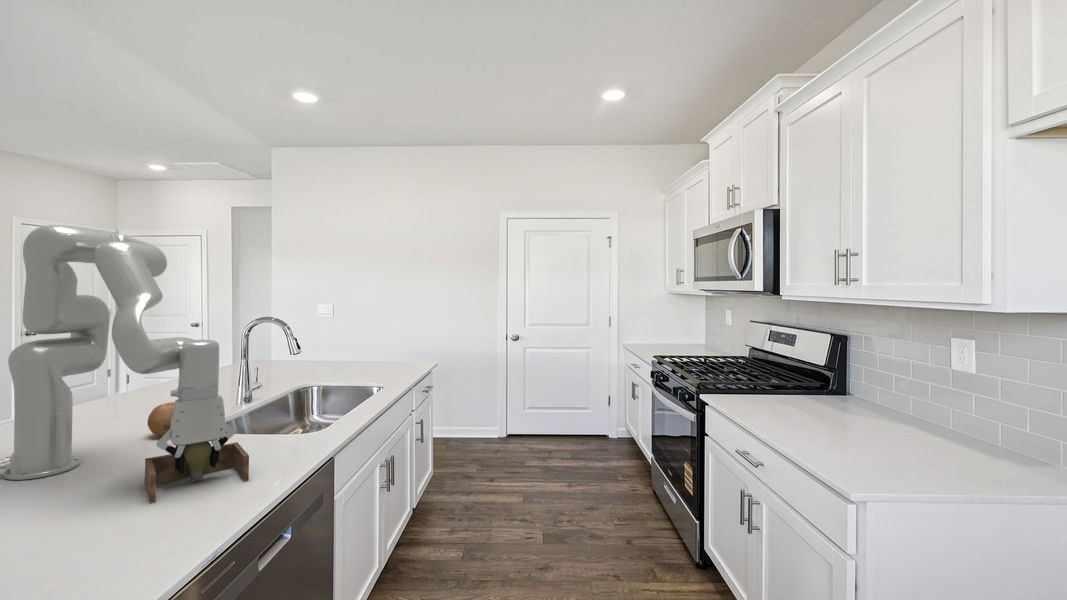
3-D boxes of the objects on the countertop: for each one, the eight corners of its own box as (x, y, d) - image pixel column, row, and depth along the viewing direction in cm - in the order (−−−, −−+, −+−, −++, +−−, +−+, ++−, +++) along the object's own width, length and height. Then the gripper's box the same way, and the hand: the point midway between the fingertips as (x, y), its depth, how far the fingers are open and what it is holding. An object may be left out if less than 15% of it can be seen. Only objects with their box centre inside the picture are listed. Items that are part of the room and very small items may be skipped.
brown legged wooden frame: (149, 503, 94) (150, 475, 94) (144, 484, 103) (145, 458, 103) (248, 480, 107) (249, 455, 107) (236, 465, 116) (237, 442, 116)
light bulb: (195, 487, 102) (196, 444, 102) (175, 484, 104) (176, 441, 103) (217, 477, 108) (217, 436, 108) (198, 474, 109) (198, 434, 109)
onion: (185, 428, 143) (186, 397, 143) (191, 436, 136) (192, 403, 136) (145, 434, 136) (146, 401, 136) (149, 443, 129) (150, 408, 129)
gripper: (152, 401, 97) (151, 484, 97) (245, 390, 109) (243, 465, 109) (149, 394, 102) (147, 473, 102) (237, 385, 114) (236, 456, 114)
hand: (197, 468), depth 106 cm, fingers closed on light bulb, 5 cm apart
